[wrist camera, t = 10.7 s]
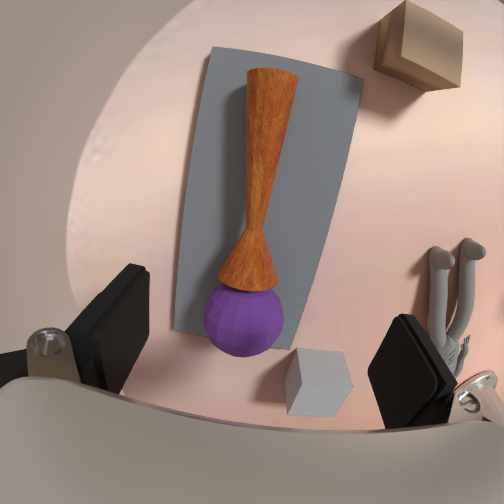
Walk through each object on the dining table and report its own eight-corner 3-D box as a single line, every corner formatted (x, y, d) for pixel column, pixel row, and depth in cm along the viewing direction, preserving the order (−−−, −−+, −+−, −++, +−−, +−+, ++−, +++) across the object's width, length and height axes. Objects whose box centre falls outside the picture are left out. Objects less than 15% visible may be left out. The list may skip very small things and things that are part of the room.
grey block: (326, 382, 30) (333, 416, 25) (284, 379, 30) (287, 415, 25) (342, 351, 28) (353, 386, 23) (296, 347, 28) (302, 383, 23)
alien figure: (501, 246, 19) (456, 413, 27) (472, 230, 23) (444, 391, 32) (438, 265, 20) (407, 433, 28) (412, 245, 24) (397, 408, 33)
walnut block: (425, 91, 18) (459, 87, 13) (373, 69, 17) (401, 56, 13) (430, 43, 16) (463, 31, 11) (380, 20, 16) (406, -1, 11)
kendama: (335, 75, 14) (285, 371, 20) (301, 92, 19) (267, 327, 26) (231, 54, 13) (203, 373, 19) (222, 79, 18) (201, 327, 24)
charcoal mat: (288, 343, 27) (289, 349, 26) (176, 323, 27) (173, 330, 26) (359, 81, 18) (363, 79, 17) (214, 50, 17) (212, 46, 16)
